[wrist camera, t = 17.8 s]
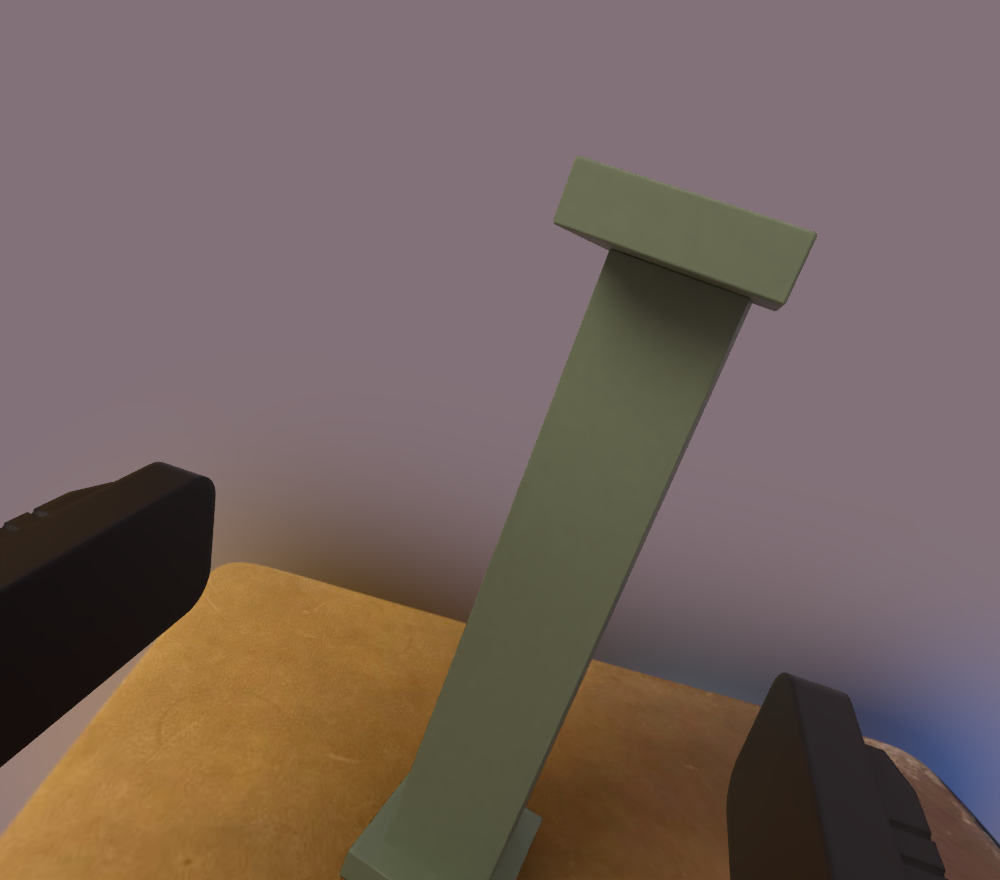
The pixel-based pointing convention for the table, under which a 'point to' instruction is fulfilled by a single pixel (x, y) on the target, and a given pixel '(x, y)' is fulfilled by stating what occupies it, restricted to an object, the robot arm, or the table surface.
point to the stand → (579, 512)
